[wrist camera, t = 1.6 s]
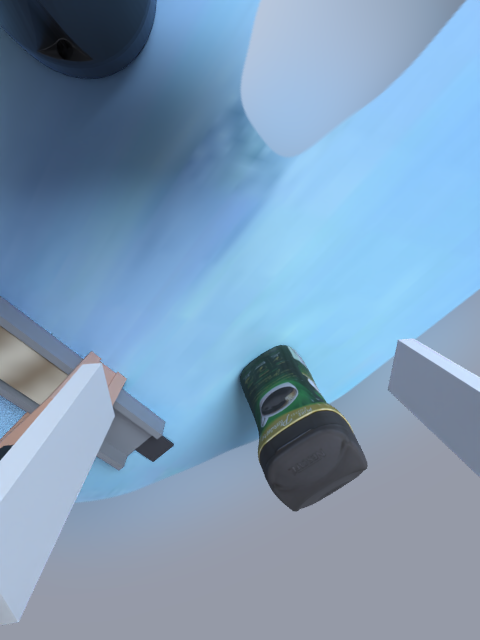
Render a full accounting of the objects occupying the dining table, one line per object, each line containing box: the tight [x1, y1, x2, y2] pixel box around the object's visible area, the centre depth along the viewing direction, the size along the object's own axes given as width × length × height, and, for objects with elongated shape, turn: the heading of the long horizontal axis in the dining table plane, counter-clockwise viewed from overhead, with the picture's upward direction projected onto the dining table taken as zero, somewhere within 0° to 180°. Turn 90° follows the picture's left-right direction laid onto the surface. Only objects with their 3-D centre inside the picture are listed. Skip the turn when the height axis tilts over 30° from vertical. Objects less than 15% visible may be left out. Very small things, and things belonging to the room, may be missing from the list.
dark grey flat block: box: [135, 436, 174, 462], centre depth 42 cm, size 4×5×1 cm
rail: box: [0, 296, 165, 470], centre depth 36 cm, size 29×9×3 cm, turn 41°
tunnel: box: [0, 351, 126, 448], centre depth 33 cm, size 6×12×10 cm, turn 131°
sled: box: [0, 326, 68, 405], centre depth 32 cm, size 19×6×6 cm, turn 41°
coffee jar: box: [240, 345, 367, 511], centre depth 32 cm, size 10×8×19 cm
